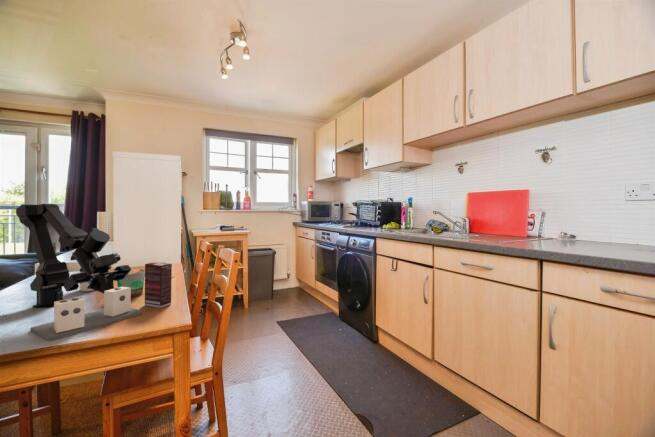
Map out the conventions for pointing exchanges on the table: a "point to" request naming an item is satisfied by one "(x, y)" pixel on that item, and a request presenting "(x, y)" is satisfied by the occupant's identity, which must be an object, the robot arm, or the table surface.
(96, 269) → the robot arm
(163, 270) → the supplement box
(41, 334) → the key mat
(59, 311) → the white block grey domes
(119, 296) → the push button box
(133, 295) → the food container
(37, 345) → the table surface
